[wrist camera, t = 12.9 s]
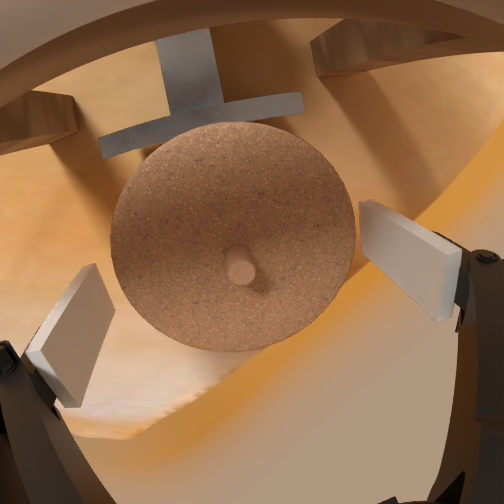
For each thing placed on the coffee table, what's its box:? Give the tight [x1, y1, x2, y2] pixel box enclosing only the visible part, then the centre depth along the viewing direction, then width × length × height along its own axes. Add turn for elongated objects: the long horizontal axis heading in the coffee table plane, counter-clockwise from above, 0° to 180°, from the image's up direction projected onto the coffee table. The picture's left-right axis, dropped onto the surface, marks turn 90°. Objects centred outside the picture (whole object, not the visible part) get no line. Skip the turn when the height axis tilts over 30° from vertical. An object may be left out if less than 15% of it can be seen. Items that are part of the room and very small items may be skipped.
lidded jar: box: [110, 121, 356, 352], centre depth 15 cm, size 11×11×9 cm
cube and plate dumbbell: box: [98, 28, 305, 159], centre depth 11 cm, size 12×9×8 cm
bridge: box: [0, 0, 504, 155], centre depth 9 cm, size 2×20×15 cm, turn 101°
